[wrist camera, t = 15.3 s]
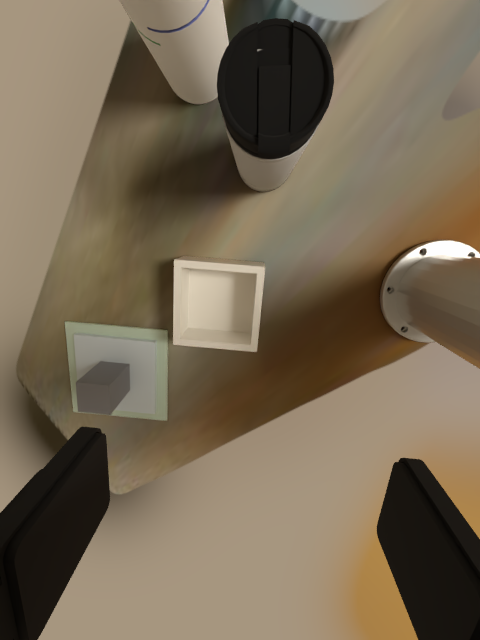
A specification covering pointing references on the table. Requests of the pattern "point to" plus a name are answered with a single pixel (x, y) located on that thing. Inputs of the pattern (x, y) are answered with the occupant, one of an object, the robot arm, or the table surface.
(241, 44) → the travel mug
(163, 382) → the mat
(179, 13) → the cylindrical container
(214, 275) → the open square tray
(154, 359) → the lid
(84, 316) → the table surface
